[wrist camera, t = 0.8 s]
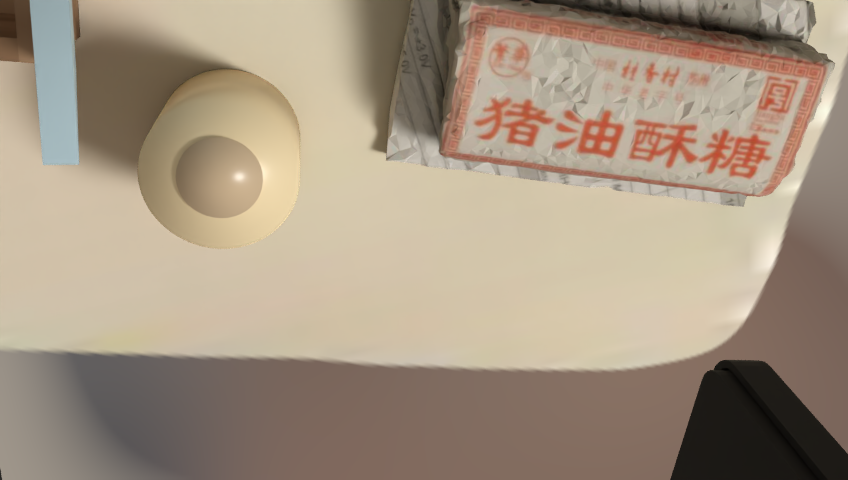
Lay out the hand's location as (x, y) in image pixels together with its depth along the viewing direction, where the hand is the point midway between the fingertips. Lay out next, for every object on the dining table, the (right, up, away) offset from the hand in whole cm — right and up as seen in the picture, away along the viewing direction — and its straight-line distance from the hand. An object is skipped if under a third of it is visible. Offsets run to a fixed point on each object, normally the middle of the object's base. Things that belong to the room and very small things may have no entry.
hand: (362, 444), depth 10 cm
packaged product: (+8, +10, +26) cm, 29 cm away
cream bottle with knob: (-8, +7, +24) cm, 26 cm away
